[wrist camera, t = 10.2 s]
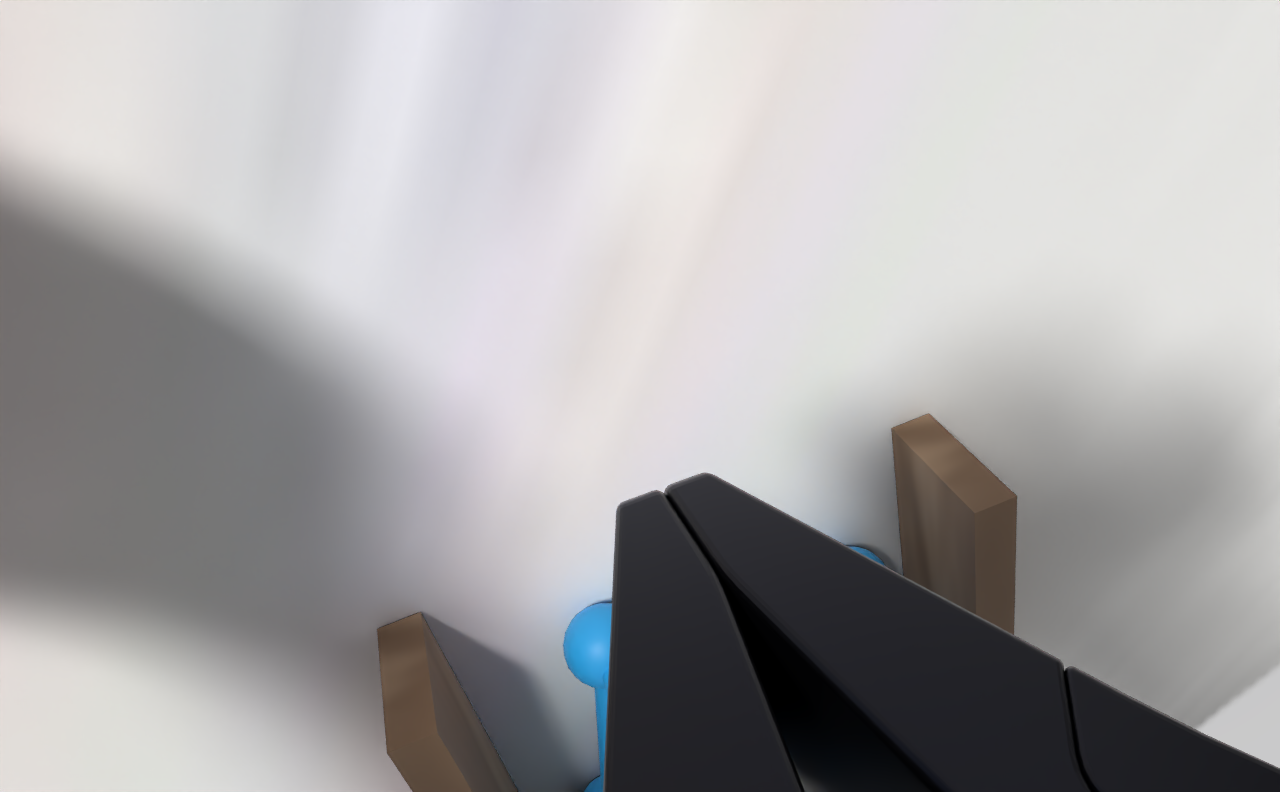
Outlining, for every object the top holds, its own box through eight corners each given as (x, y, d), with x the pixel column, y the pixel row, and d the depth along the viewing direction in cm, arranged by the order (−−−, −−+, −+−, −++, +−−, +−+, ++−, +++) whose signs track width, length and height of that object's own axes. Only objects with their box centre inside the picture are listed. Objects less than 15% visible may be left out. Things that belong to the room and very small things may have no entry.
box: (531, 888, 32) (556, 1007, 29) (377, 629, 24) (387, 753, 21) (943, 708, 34) (1010, 800, 31) (929, 413, 26) (1017, 496, 23)
